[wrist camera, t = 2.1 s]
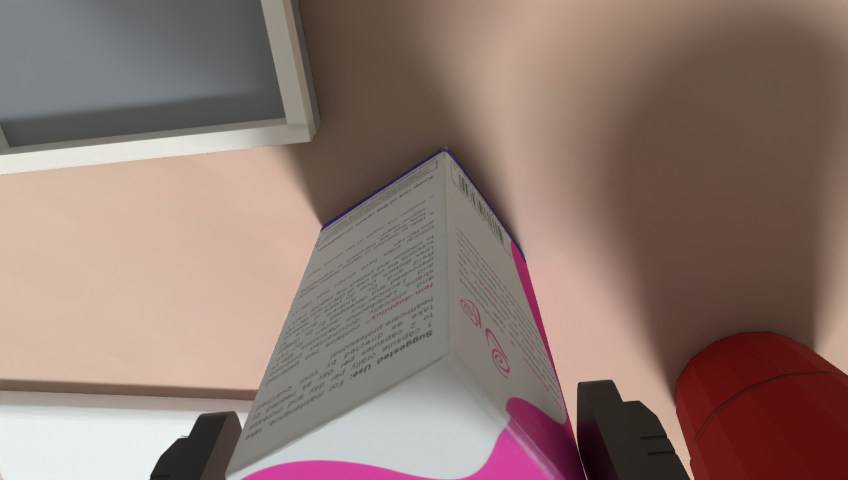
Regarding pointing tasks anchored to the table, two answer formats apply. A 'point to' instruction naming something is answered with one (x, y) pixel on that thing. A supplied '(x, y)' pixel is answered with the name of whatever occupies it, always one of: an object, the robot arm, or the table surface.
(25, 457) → the external hard drive
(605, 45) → the table surface
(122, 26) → the socket board
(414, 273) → the supplement box
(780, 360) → the plastic cup
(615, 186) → the table surface
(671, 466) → the robot arm
